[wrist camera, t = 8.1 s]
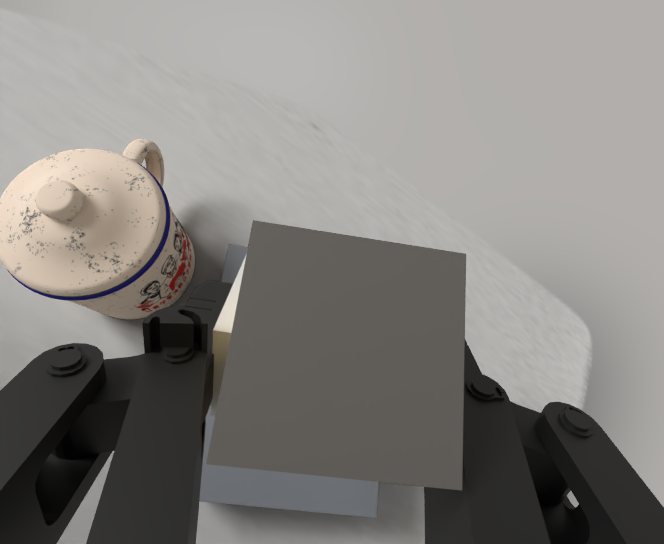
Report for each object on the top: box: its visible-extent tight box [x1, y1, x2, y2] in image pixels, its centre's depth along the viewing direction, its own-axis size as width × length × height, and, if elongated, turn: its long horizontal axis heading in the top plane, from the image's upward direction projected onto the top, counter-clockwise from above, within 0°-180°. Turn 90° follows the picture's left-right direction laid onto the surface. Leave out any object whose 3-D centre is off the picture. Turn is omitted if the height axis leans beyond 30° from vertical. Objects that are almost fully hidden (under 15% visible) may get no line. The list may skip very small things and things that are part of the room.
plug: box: [206, 221, 466, 491], centre depth 12 cm, size 4×4×11 cm
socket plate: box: [199, 244, 379, 518], centre depth 27 cm, size 12×16×4 cm
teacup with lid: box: [0, 139, 195, 319], centre depth 25 cm, size 12×9×12 cm
